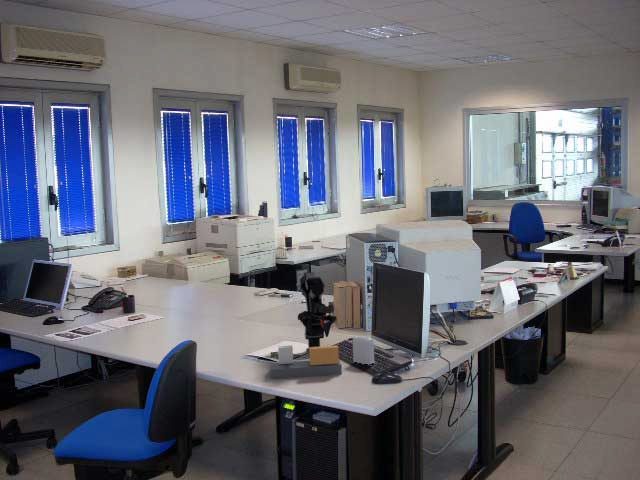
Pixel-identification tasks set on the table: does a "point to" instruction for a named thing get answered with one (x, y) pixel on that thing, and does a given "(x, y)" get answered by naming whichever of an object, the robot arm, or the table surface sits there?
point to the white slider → (285, 354)
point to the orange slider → (324, 355)
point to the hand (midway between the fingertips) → (319, 335)
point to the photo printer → (363, 350)
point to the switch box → (303, 369)
